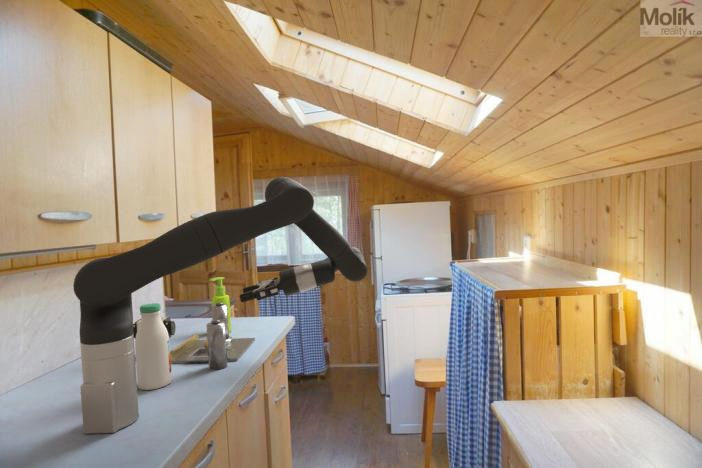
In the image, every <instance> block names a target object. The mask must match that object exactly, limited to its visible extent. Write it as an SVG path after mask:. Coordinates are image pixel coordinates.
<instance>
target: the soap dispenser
mask: <svg viewBox="0 0 702 468" xmlns="http://www.w3.org/2000/svg"><path fill="white" fill-rule="evenodd" d="M223 280H225V277H223V276H219V277H218V276H217V277H212V278H210V279H209V280H208V281H209V282H215V281H217V285H216V286H215V287H214V289H215V291H214V292H215V295H214V296H212V297H211V301H212V302H211V303H212V305H211V306H213V305H216V304H215V303H218V302H223V304H227V309H228V327H229V334H230V333H231V332H232V323H231V321H232V319H231V305H230V295H229V294H226V286H225V285H223Z"/></svg>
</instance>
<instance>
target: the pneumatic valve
mask: <svg viewBox="0 0 702 468" xmlns="http://www.w3.org/2000/svg"><path fill="white" fill-rule="evenodd" d="M160 317H161V316H160ZM161 320H162V322H163V324H164V325H165V327H166V329H167V331H168V335H169V339H170V338H172V337H173V336H174V335H175V333H176V322H175V321H174V320H172V319H171V316H163V317H161ZM140 323H141V318H140V319H138V320H136V321H135V322H134V323H133V336H134V340H135V339H136V334H137V331H138V329H139V326H140Z"/></svg>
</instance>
